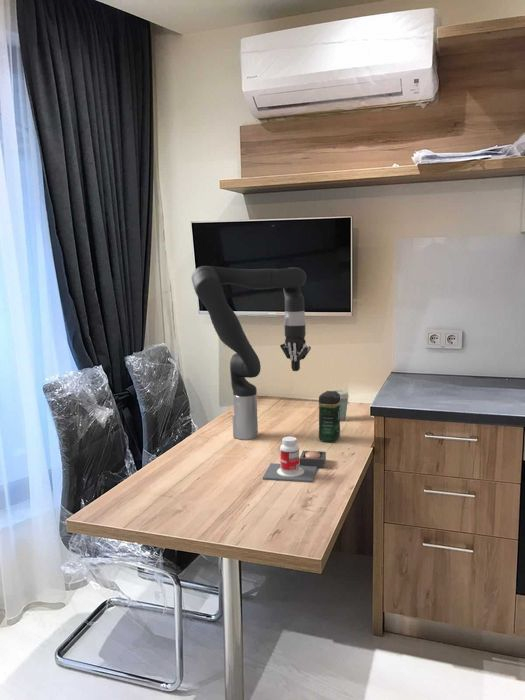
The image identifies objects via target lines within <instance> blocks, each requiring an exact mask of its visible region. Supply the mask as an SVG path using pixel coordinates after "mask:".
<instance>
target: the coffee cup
mask: <svg viewBox="0 0 525 700" xmlns="http://www.w3.org/2000/svg"><path fill="white" fill-rule="evenodd" d="M334 391H336V392H337V393H339V394H340V422H343V421H346V420H345V419H347V418H346V417H347V411H348V410H347V409H348V399H349V394H348V391H347V390H339V389H338V390H334Z"/></svg>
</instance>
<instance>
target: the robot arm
mask: <svg viewBox="0 0 525 700" xmlns="http://www.w3.org/2000/svg"><path fill="white" fill-rule="evenodd" d="M307 279H308V278H307V273H306V272H305V270H304V269H302V268H300V267H288V268H287V267H286V268H279V269H278V268H256V269H245V268H232V267H222V266H214V265H201V266H198V267H197V268H196V269H194V270H193V272H192V274H191V282H192V286H193V289H194V292H195V294H196V296H197V297H198V299H199V300H200V302H201V303H202V304H203V306H204V307H205V309H206V311H207V312H208V314H209V318H210V321H211V323H212V326H213V328H214V330H215V332H216V334H217V336H218V338H219V341H221V342H222V343H223V344H224V345H225V346H227V347H228V348H229V349H231V350H232V351H233V352H235V353H234V354H233V355H232V356H231V358H230V361H229V373H230V383H231V389H232V396H233V397H232V398H233V399H232V400H233V413H232V436H233V437H234V438H233V439H238V440H252V439H256V438H258V436H259V428H258V427H259V426H258V421H259V420H258V398H257V397H258V395H257V394H258V392H257V387H256V386H255V385H254V384H253V383H252V382H249V381H248V379H249V378H250V379H251V378H253V379H254V378H256V377H258V376H259V375H260V373H261V361H260V359H259V356H258V355H257V352H256V351H255V349H254V348H253V347H252V345H251V343H250V341H249V339H248V338H247V335H246V334H245V333H246V332H245V331H244V330H243V326H242V324H241V322H240V320H239V317H238V316H237V315H236V314H237V313H235V311H234V310H233V309H232V308H231V307H230V305H229V304H228V302H227V298H226V297H225V293H224V290H223V285H234V286H238V287H242V288H246V289H251V290H272V289H278V288H279V289H282V290H283V295H284V316H283V317H284V323H283V324H284V337H285V340H284V343H282V344H280V348H281V350H282V352H283V354H284V355H285V357H286V359H289V360H290V362H291V363H290V364H291V365H290V366H291V370H292V371H293V372H298V371H300V368H301V367H300V366H301V360H305V358H306V357H307V355H308V354H309V352H310V351H311V348H312V347H311V346H310V345H309V346H308V345H307V344H306V338H305V337H306V334H307V333H306V314H305V311H306V310H305V298H304V295H303V294H302V288H301V287H303V286H304V285H305V283H306V282H307ZM246 378H248V379H246Z"/></svg>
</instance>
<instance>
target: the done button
mask: <svg viewBox="0 0 525 700" xmlns="http://www.w3.org/2000/svg"><path fill="white" fill-rule="evenodd" d="M305 458H320V453H319V452H307V453H305Z"/></svg>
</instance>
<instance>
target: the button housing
mask: <svg viewBox="0 0 525 700" xmlns="http://www.w3.org/2000/svg"><path fill="white" fill-rule="evenodd" d="M307 452H319V453H320V458H305V453H307ZM326 458H327V452H326V451H322V450H321V451H320V450H302V452H301V454H300V455H299V465H304V466H317V469H324V466H325V463H326V460H327V459H326Z"/></svg>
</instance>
